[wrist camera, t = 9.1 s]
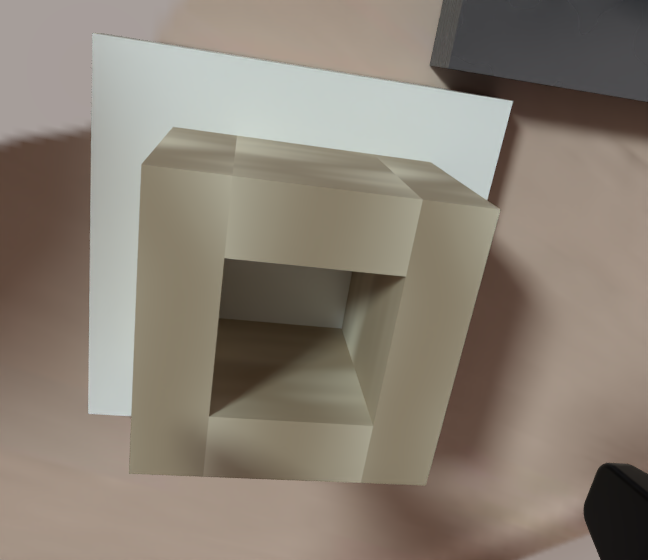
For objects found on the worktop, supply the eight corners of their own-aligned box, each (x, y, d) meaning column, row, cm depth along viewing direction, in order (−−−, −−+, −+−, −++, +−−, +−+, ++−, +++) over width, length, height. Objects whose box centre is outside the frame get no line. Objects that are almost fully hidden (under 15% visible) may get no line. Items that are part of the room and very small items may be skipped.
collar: (430, 161, 15) (500, 209, 11) (383, 377, 17) (425, 485, 13) (173, 126, 14) (141, 164, 10) (159, 361, 16) (129, 473, 12)
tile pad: (497, 97, 15) (513, 101, 15) (417, 414, 19) (426, 433, 18) (102, 33, 14) (91, 32, 13) (96, 394, 17) (88, 413, 16)
